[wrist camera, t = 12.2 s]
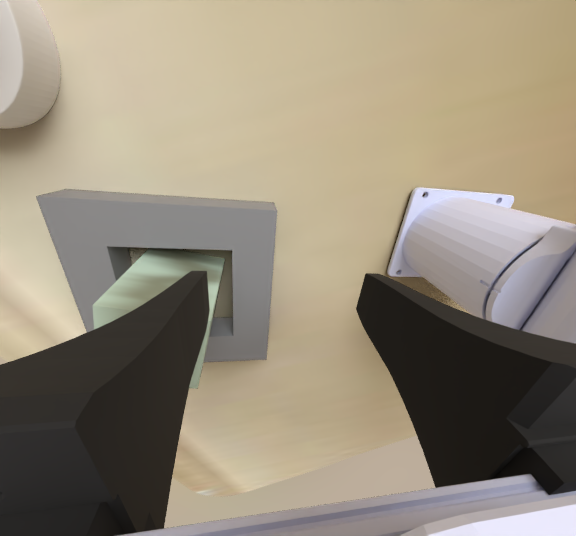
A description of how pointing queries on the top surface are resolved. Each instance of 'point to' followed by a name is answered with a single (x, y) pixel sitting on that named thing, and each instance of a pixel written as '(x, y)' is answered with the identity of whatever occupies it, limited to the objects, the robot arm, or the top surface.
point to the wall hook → (26, 64)
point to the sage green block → (159, 288)
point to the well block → (168, 234)
